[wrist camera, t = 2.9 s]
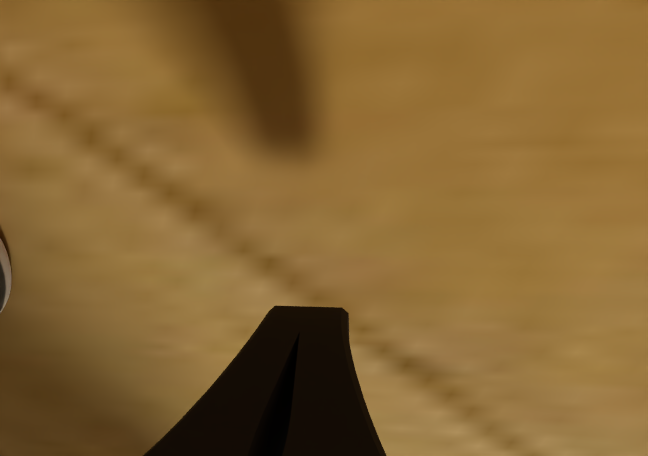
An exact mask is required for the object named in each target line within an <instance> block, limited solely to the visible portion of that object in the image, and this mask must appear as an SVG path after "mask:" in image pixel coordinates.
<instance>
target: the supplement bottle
mask: <svg viewBox="0 0 648 456" xmlns="http://www.w3.org/2000/svg"><path fill="white" fill-rule="evenodd" d="M11 280H12V276H11V266H10V262H9V258H8V254H7V251H6V249H5V246H4V244H3V242H2V240H1V238H0V313H1V311H2V310H3V308H4V307H5V305H6V303H7V301H8V298H9V295H10V290H11Z"/></svg>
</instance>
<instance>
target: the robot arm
mask: <svg viewBox="0 0 648 456" xmlns="http://www.w3.org/2000/svg"><path fill="white" fill-rule="evenodd" d="M143 456H386V454H385V451H384V449H383V447H382V445H381V442H380V440H379V437H378V435H377V433H376V430H375V427H374V425H373V422H372V420H371V417H370V415H369V412H368V409H367V406H366V403H365V400H364V398H363V394H362V391H361V388H360V384H359V381H358V378H357V374H356V371H355V367H354V363H353V359H352V354H351V349H350V344H349V315H348V313H347V312H346V311H345V310H344V309H343V308H334V307H299V306H274V307H273V308H272V309H271V310H270V311H269V312H268V314H267V315H266V316H265V318H264V319H263V321H262V322H261V324H260V325H259V326H258V328H257V329H256V331H255V332H254V333H253V335H252V336H251V337H250V339H249V340H248V341H247V343H246V344H245V345H244V347H243V348H242V349H241V350H240V352H239V353H238V354H237V356H236V357H235V358H234V359H233V361H232V362H231V363H230V364H229V365H228V367H227V368H226V369H225V370H224V371H223V373H222V374H221V375H220V376H219V378H218V379H217V380H216V381H215V382H214V384H213V385H212V386H211V387H210V388H209V389H208V390H207V392H206V393H205V394H204V395H203V396H202V397H201V398H200V399H199V400H198V401H197V402H196V403H195V405H194V406H193V407H192V408H191V409H190V410H189V411H188V412H187V413H186V414H185V415H184V416H183V418H182V419H181V420H180V421H179V422H178V423H177V424H176V425H175V426H174V427H173V428H172V429H171V430H170V431H169V432H168V433H167V434H166V435H165V436H164V437H163V438H162V439H161V440H160V441H159V442H157V443H156V444H155V445H154V446H153V447H152V448H151V449H150V450H149V451H148V452H147V453H146V454H144V455H143Z"/></svg>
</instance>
